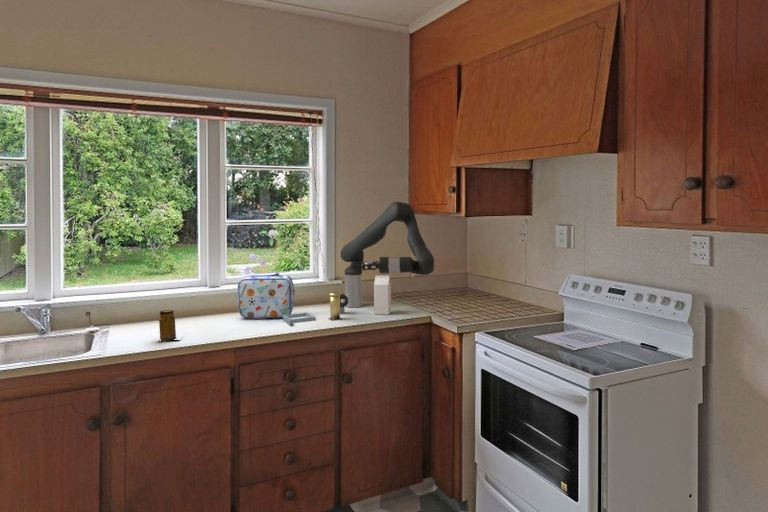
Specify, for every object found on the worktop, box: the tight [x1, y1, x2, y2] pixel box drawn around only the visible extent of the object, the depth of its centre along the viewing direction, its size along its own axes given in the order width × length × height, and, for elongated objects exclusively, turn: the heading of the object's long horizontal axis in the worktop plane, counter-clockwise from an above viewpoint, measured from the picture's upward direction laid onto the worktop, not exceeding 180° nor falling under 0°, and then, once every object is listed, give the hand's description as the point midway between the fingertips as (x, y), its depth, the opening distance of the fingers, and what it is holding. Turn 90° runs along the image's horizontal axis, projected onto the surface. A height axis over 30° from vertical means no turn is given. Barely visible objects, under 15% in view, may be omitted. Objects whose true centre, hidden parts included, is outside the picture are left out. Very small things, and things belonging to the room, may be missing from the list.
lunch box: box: [237, 272, 297, 320], centre depth 255 cm, size 28×10×22 cm, turn 94°
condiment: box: [157, 309, 177, 343], centre depth 214 cm, size 7×8×12 cm
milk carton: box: [373, 275, 392, 316], centre depth 261 cm, size 7×7×19 cm
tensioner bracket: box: [327, 292, 348, 322], centre depth 248 cm, size 18×14×11 cm
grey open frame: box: [282, 312, 316, 327], centre depth 244 cm, size 12×12×3 cm
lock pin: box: [328, 291, 341, 321], centre depth 243 cm, size 5×5×12 cm
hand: (354, 266), depth 238 cm, fingers open, 8 cm apart
